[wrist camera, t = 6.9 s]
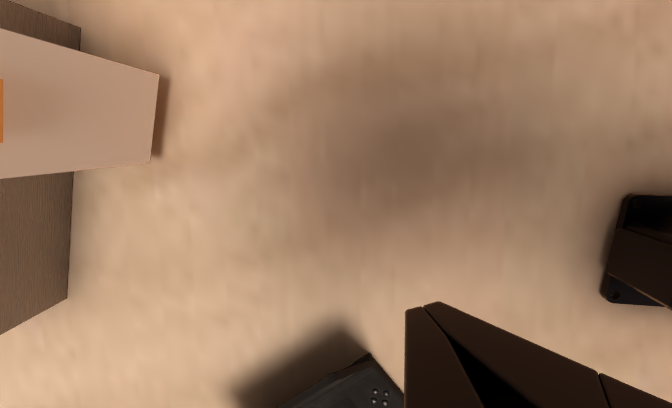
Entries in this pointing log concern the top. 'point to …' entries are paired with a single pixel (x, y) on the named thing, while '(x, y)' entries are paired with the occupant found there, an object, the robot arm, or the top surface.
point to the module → (70, 109)
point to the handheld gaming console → (352, 389)
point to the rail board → (34, 205)
